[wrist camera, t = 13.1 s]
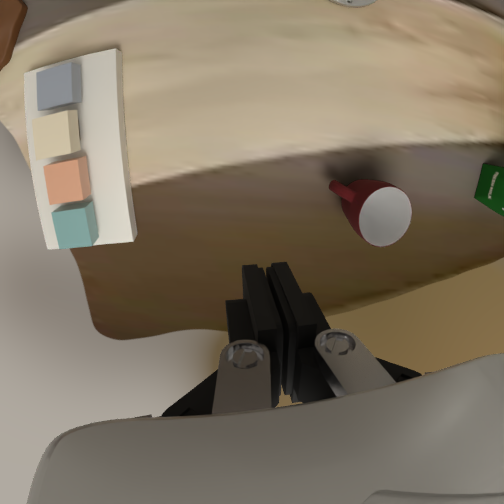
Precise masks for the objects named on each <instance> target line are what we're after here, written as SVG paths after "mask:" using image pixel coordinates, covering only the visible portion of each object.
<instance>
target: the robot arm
mask: <svg viewBox="0 0 504 504" xmlns="http://www.w3.org/2000/svg"><path fill="white" fill-rule="evenodd" d="M330 1H332V2H333V3H336V4H339V5H341V6H346V7H353V8H358V7H365V6H368V5H370V4H372V3H374V2H375V1H376V0H330ZM347 1H348V2H347ZM242 279H243V299H238V300H226V314H227V325H228V335H229V344H228V345H227V346H226V347H225V348H224V349H223V350H222V352H221V354H220V360H219V367H218V370H216V371H215V372H214V373H213V374H211V375H210V376H209V377H208V378H206V379H205V380H204V381H203V382H201V383H200V384H199V385H197V386H196V387H195V388H194V389H192V390H191V391H190V392H188V393H187V394H186V395H185V396H183V397H182V398H181V399H179V400H178V401H177V402H176V403H174V404H173V405H172V406H170V407H169V408H168V409H167V410H166V411H165V412H164V413H163V414H162V416H159V417H153V418H152V415H147V416H140V417H135V418H127V419H115V420H107V421H101V422H95V423H90V424H87V425H83V426H79V427H76V428H73V429H71V430H68V431H66V432H64V433H62V434H60V435H59V436H57V437H56V438H55V439H54V440H53V441H52V442H51V443H50V444H49V446H48V447H47V448H46V450H45V452H44V454H43V455H42V458H41V460H40V462H39V465H38V467H37V470H36V473H35V476H34V478H33V482H32V485H31V489H30V493H29V497H28V501H27V504H504V353H503V354H501V353H500V354H493V355H487V356H483V357H479V358H475V359H473V360H469V361H466V362H463V363H460V364H457V365H454V366H450V367H447V368H444V369H441V370H438V371H435V372H427V373H425V375H421V374H420V373H418V372H416V371H414V370H411V369H408V368H405V367H402V366H399V365H396V364H393V363H390V362H387V361H385V360H382V359H379V358H376V357H374V356H373V355H372V354H371V352H370V351H369V350H368V349H367V348H366V347H365V345H364V344H363V343H362V342H361V341H360V340H359V338H358V337H356V336H355V335H354V334H353V333H351V332H349V331H347V330H342V329H331V328H330V326H329V325H328V323H327V321H326V319H325V317H324V315H323V313H322V311H321V309H320V308H319V306H318V304H317V302H316V300H315V298H314V296H313V295H312V293H310V292H309V293H302V292H301V290H300V288H299V286H298V284H297V282H296V280H295V278H294V276H293V274H292V272H291V270H290V268H289V266H288V264H287V262H279V263H272V264H271V267H267V268H266V276H265V273H264V270H263V268H258V267H257V264H255V265H242ZM281 384H282V388H283V391H284V394H285V395H289V394H290V397H291V400H292V403H294V402H302V404H296V405H290V406H283V407H277V408H275V407H276V406H277V405H278V403H279V396H280V395H281Z"/></svg>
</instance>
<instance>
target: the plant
mask: <svg viewBox="0 0 504 504" xmlns="http://www.w3.org/2000/svg"><path fill="white" fill-rule="evenodd" d="M26 13H27V6H26V5H25V3H24V2H23V1H22V0H0V71H1V69H2V68H3V67H4V66H5V65H7V64H8V63H9V61H10V59H11V56H12V53H13V49H14V46H15V43H16V40H17V37H18V34H19V31H20V28H21V26H22V23H23V21H24V18H25V16H26Z"/></svg>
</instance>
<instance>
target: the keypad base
mask: <svg viewBox="0 0 504 504" xmlns="http://www.w3.org/2000/svg"><path fill="white" fill-rule="evenodd" d="M70 62H72V63H76V64H79V65H81V98H82V102H81V103H76V104H72V105H68V106H63V107H59V108H55V109H52V110H46V111H38V107H37V80H36V73H37V72H40V71H43V70H46V69H49V68H53V67H56V66H59V65H63V64H67V63H70ZM24 98H25V116H26V129H27V140H28V149H29V157H30V164H31V171H32V178H33V184H34V190H35V195H36V200H37V206H38V211H39V215H40V220H41V224H42V229H43V233H44V237H45V241H46V245H47V249H48V250H49V249H59V245H58V241H57V237H56V233H55V228H54V224H53V219H52V214H51V212H53V211H54V210H55V209H57V208H58V207H59V206H62V205H69V204H76V203H83V202H91V201H93V207H94V213H95V219H96V224H97V229H98V234H99V238H98V239H97V240H96V242H95V243H94V244H93V245H100V244H111V243H122V242H133V241H134V239H135V238H136V236H137V234H138V233H137V226H136V220H135V213H134V206H133V199H132V191H131V183H130V174H129V165H128V156H127V145H126V133H125V119H124V103H123V80H122V52H121V51H119V50H118V49H116V48H115V49H110V50H105V51H100V52H96V53H92V54H87V55H83V56H79V57H76V58H72V59H68V60H64V61H61V62H57V63H54V64H51V65H48V66H44V67H41V68H38V69H35V70H32V71H29V72H26V73H24ZM67 110H77V113H78V120H79V127H80V138H81V140H80V148H81V150H79V151H76V152H73V153H70V154H65V155H60V156H55V157H50V158H45V159H41V160H37V161H36V156H35V147H34V138H33V127H32V119H36V118H39V117H43V116H47V115H51V114H55V113H59V112H63V111H67ZM83 156H86V158H87V167H88V174H89V181H90V188H91V194H90V195H89V196H88V197H87V198H85V199H84V200H80V201H73V202H66V203H60V204H53V205H50V204H49V199H48V193H47V187H46V181H45V175H44V168H43V166H45V165H48V164H50V163H52V162H56V161H61V160H67V159H72V158H77V157H83Z"/></svg>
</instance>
